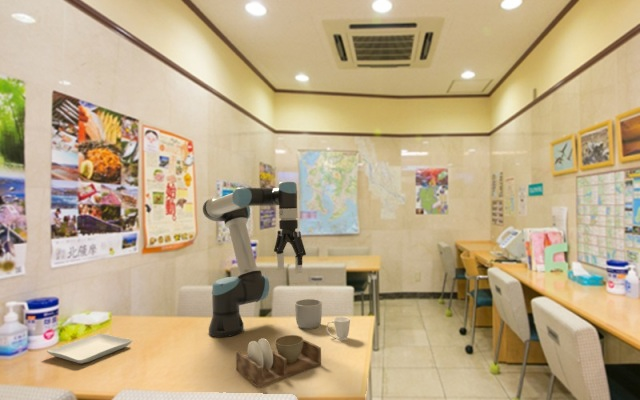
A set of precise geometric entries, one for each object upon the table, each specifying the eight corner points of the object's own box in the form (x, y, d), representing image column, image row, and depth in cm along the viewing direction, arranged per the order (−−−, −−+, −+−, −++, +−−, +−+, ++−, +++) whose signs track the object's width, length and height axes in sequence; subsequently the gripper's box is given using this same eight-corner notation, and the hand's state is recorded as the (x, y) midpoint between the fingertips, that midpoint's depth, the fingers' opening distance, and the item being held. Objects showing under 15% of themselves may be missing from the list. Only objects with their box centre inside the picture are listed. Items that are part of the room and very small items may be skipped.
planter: (322, 330, 157) (321, 305, 158) (294, 331, 157) (293, 306, 158) (322, 321, 170) (321, 298, 170) (296, 322, 170) (296, 299, 170)
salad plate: (134, 347, 144) (134, 338, 144) (80, 369, 124) (80, 359, 125) (100, 340, 153) (100, 332, 153) (45, 359, 133) (45, 350, 133)
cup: (349, 342, 143) (349, 321, 143) (325, 341, 144) (325, 321, 145) (351, 335, 150) (351, 316, 150) (328, 335, 151) (327, 316, 152)
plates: (247, 367, 119) (247, 337, 120) (258, 363, 122) (258, 334, 122) (261, 378, 112) (261, 346, 112) (273, 374, 114) (272, 342, 114)
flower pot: (290, 352, 131) (290, 332, 132) (309, 359, 124) (309, 339, 125) (269, 361, 124) (269, 340, 124) (288, 369, 117) (288, 347, 117)
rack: (236, 369, 120) (236, 351, 120) (295, 351, 135) (294, 335, 135) (259, 387, 108) (258, 367, 108) (321, 365, 122) (320, 347, 122)
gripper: (265, 219, 153) (266, 268, 153) (297, 220, 134) (299, 276, 133) (280, 218, 158) (281, 266, 157) (313, 219, 138) (315, 273, 138)
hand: (289, 271), depth 145 cm, fingers open, 13 cm apart
